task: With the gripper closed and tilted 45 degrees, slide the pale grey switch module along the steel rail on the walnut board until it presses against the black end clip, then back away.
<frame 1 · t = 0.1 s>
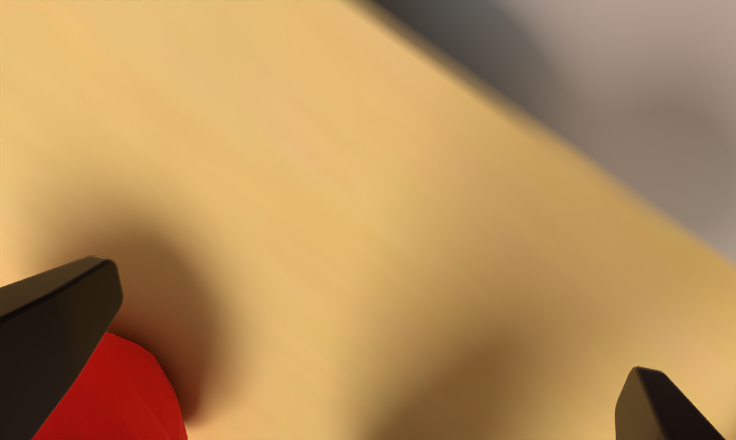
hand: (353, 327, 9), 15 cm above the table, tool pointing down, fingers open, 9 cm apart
tomato: (129, 379, 36), on the table
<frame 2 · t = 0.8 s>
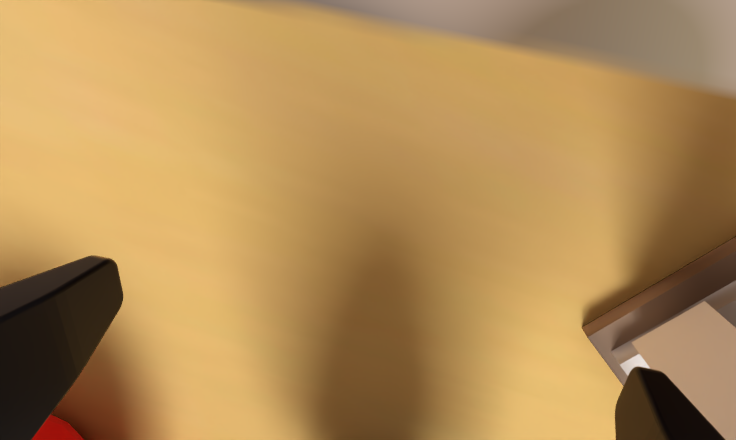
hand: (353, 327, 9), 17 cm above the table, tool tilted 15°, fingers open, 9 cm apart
rail board: (700, 323, 26), on the table
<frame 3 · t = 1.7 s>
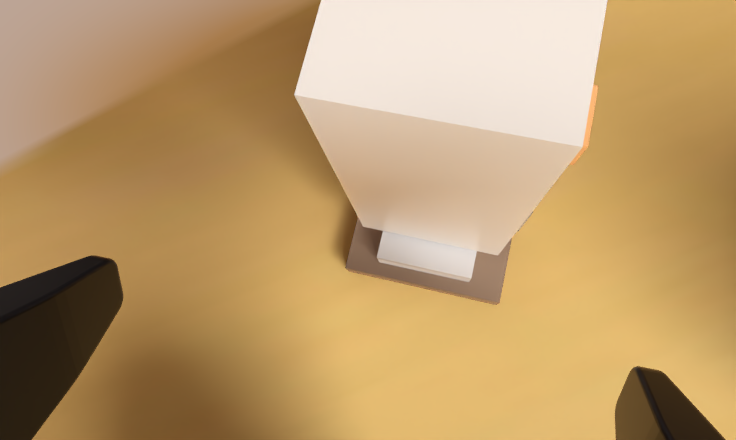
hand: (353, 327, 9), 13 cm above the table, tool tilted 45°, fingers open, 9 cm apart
rail board: (444, 179, 23), on the table
switch module: (454, 143, 15), point 8 cm above the table, slide at 0.0 cm
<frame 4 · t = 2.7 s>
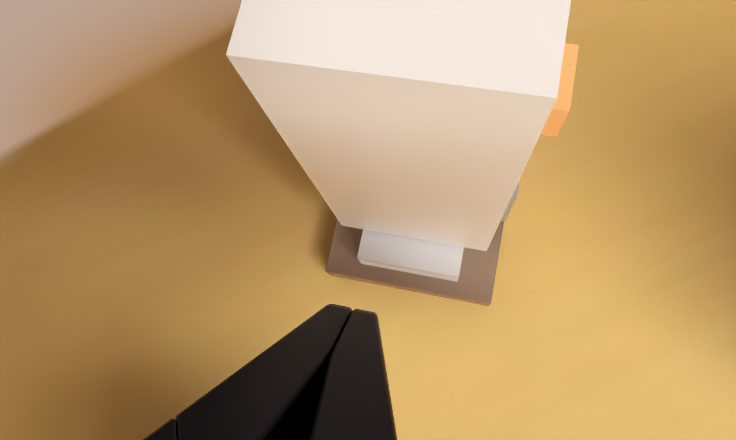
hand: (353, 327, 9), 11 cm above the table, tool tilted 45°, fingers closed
rail board: (429, 175, 22), on the table
switch module: (428, 125, 14), point 8 cm above the table, slide at 0.0 cm
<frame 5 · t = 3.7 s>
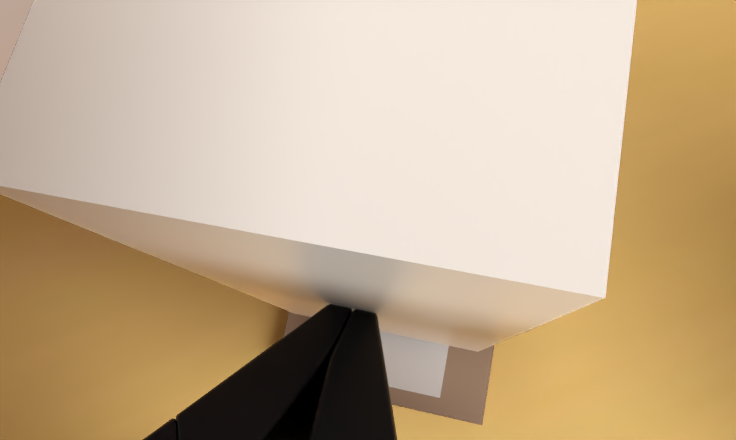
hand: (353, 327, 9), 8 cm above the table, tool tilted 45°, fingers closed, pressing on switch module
rail board: (407, 249, 17), on the table
switch module: (392, 215, 10), point 8 cm above the table, slide at 0.3 cm, touching gripper
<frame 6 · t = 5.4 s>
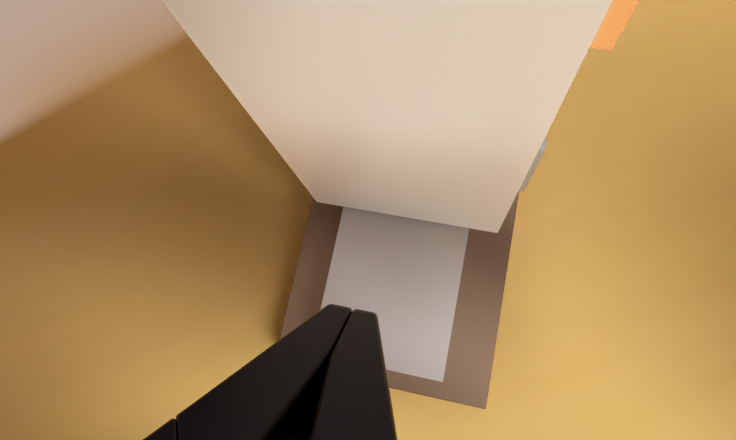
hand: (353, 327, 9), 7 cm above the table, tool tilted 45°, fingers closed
rail board: (409, 233, 17), on the table
switch module: (422, 53, 10), point 8 cm above the table, slide at 3.0 cm
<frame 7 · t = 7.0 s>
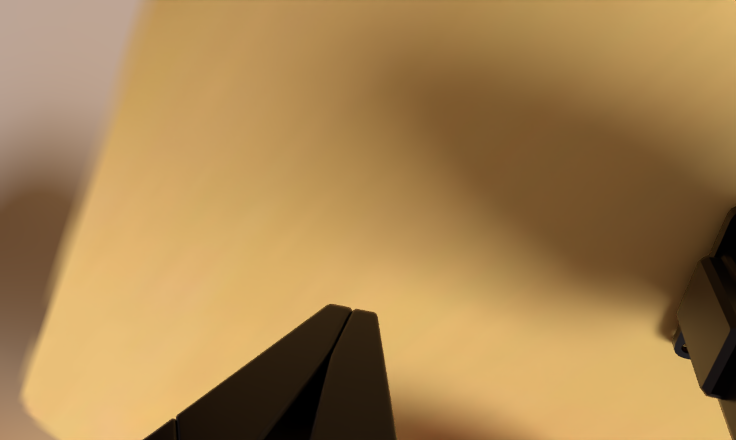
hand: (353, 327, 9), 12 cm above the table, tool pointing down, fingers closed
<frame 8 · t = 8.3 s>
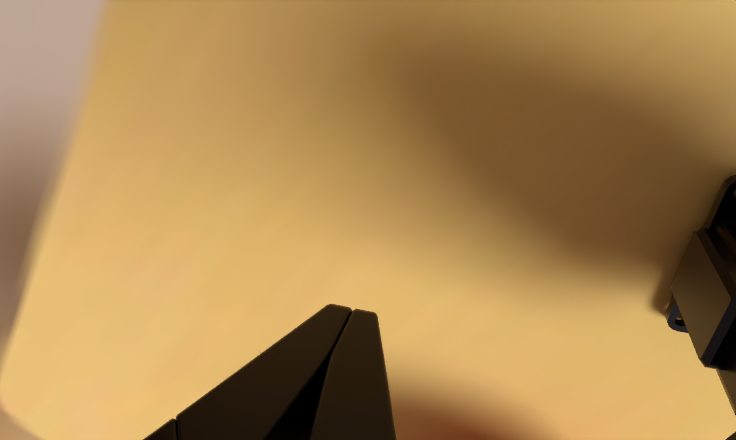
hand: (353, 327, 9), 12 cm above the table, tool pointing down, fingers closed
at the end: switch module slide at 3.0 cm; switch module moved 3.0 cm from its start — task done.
